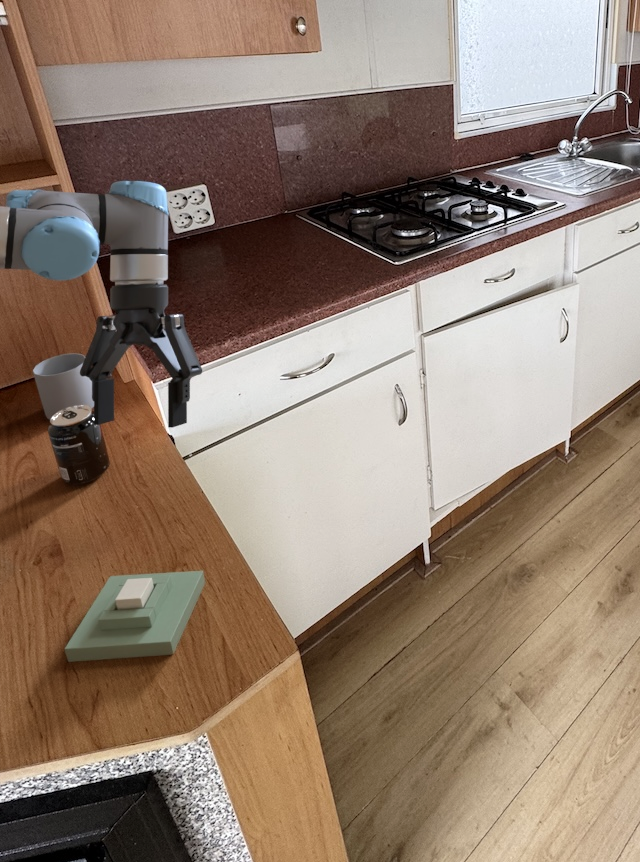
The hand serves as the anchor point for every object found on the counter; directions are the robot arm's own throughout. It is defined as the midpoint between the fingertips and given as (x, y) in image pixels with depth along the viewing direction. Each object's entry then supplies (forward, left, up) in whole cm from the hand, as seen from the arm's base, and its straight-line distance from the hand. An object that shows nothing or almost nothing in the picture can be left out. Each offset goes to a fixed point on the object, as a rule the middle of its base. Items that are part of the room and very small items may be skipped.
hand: (140, 424), depth 87 cm
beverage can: (-15, +8, -15) cm, 23 cm away
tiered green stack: (+7, -20, -15) cm, 26 cm away
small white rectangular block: (+7, -20, -12) cm, 24 cm away
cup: (-29, +28, -15) cm, 43 cm away
